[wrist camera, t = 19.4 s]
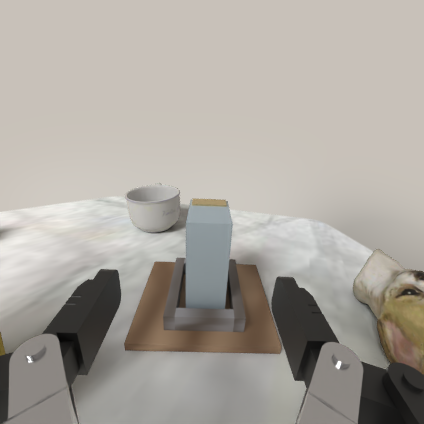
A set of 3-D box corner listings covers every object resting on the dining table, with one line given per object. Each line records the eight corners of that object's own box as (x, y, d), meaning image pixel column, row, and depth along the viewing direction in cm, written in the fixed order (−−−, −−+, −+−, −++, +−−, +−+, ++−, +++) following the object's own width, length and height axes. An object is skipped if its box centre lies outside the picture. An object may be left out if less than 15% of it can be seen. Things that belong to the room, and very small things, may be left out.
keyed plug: (185, 315, 26) (185, 220, 22) (189, 278, 32) (190, 198, 28) (224, 316, 27) (232, 222, 22) (221, 279, 33) (227, 199, 28)
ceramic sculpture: (421, 239, 30) (590, 351, 17) (395, 288, 34) (516, 411, 21) (342, 237, 30) (450, 349, 16) (325, 286, 34) (401, 410, 20)
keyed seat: (125, 350, 23) (121, 326, 22) (155, 266, 36) (154, 249, 35) (279, 353, 24) (285, 330, 22) (254, 270, 37) (257, 252, 35)
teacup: (172, 240, 44) (171, 202, 41) (119, 235, 45) (114, 197, 42) (187, 213, 57) (187, 182, 54) (145, 209, 58) (143, 178, 55)
